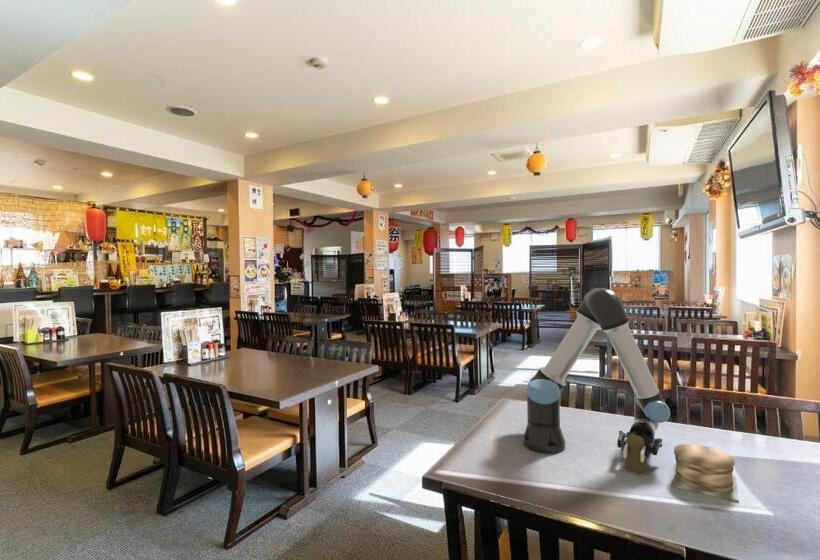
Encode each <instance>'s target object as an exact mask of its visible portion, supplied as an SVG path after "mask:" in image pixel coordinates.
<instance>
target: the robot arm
mask: <svg viewBox="0 0 820 560" xmlns="http://www.w3.org/2000/svg"><path fill="white" fill-rule="evenodd" d="M575 312H576V319H575V321H574V322H573V323H572V325H571V327H570V328H569V330H568V331H567V332H566V334H565V336H564V338H562V341H561V342H560V343H559V345H558V347H557V348H556V349H555V351H554V353H553V354H552V356H551V357H550V359H549V360H548V361H547V363H546V365H545V366H542V367H539V368H538V370H537V372H536V373H535V375H533V376H532V378H530V379H529V381H528V383H527V385H526V387H527V388H526V395H527V396H526V405H527V413H526V414H527V415H526V417H527V423H526V426H525V430H524V433H523V436H522V443H524V444H523V446H524V445H525V446H524V447H526V448H527V447H528V448H527V449H529V450H531V451H535V452H538V453H543V454H555V453H556V454H557V453H561V452H563V451H564V450H565V449H566V440H565V437H564V434H563V431H562V428H561V413H560V412H561V411H560V410H561V409H560V407H561V406H560V402H561V401H560V396H561V393H562V391H563V389H564V388H565V387H566V377H567V376H568V374H569V373H570V371H571V370H572V369H573V367H574V366H575V363H577V362H578V359H579V358H580V356H581V355H582V354H583V352H584V350H585V349H586V347H587V346H588V344H589V343H590V341H591V340H592V338H594V337H593V336H594V335H595V334H596V332H597V331H598V330H599V329H601V331H602V332H604V333H606V335H607V337H608V339H609V342H610V343H611V345H612V348H613V349H614V351H615V354H616V355H617V358H618V360H619V362H620V364H621V366H622V369H623V370H624V373H625V375H626V377H627V379H628V381H629V383H630V385H631V388H632V390H633V399H634V400H633V401H634V402H633V404H634V406H633V407H634V408H633V409H634V410H633V411H634V412H633V415H634V420H633V423H632V424H631V427H630V429H629V431H627V433H625V432H623V431H622V430H618V438H617V443H616V445H617V448H618V449H620V451H621V452H623V456H622V457H623V459H627V455H628V444H627V441H626V439H627V437H628V436H629V435H638V436H641V437H642V438H643V439H644V442H645V444H644V447H643V448H642V450H641V453H640V454H641V462H644V459H645V458H646V457H647V458H649V457H650V455H651V454H652V455H653V456H657V455H658V453H659V449H660V448H662V447H663V439H662V438H659V437H658V438H655V434H656V433H657V429H658V428H659V424H662V423H665V422H667V421H668V420H669V419H670V417H671V410H670V409H671V408H669V406H668V404H667V403H666V402H665V400H664V399H663V397H662V394H661V392H660V389H659V388H658V386H657V384H656V381H655V379H654V377H653V375H652V373H651V371H650V369H649V367H648V364H647V362H646V361H645V358H644V356H643V354H642V352H641V350H640V348H639V346H638V345H639V344H638V343H637V341H636V339H635V337H634V335H633V333H632V331H631V329H630V327H629V323H630V322H631V321H630V319H629V317H628V315H627V312H626V310H625V307H624V304H623V302H622V300H621V298H620V297H619V295H618V294H617V293H616V292H615V291H613V290H611V289H607V288H605V287H596V288H592V289H590V290H589V291H587V292H586V293H585V294H584V295H583V298H582V302H581V303H580V305H579V307H578V308H577V310H576V311H575ZM651 444H652V447H651ZM645 460H646V459H645Z"/></svg>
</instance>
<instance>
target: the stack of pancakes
mask: <svg viewBox="0 0 820 560" xmlns="http://www.w3.org/2000/svg"><path fill="white" fill-rule="evenodd" d="M673 453H674V459H675V463H674V464H673V468H672V474H671V481H670V487H673V488H678V489H682V490H686V491H691V492H695V493H698V494H702V495H707V496H710V497H715V498H719V499H722V500H727V501H731V500H732V502H735V503H739V502H740V501H739V500H740V499H739V494H738V493H739V492H738V485H737V478H736V476H733V471H734V466H735V459H734V457H733V456H732V455H730V454H729V453H727V452H725V451H724V450H723V451H722V450H720V449H717V448H714V447H711V446H706V445H700V444H692V443H691V444H690V443H685V444H684V443H683V444H678V445H676V446H674V448H673Z"/></svg>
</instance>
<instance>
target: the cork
mask: <svg viewBox="0 0 820 560" xmlns="http://www.w3.org/2000/svg"><path fill="white" fill-rule="evenodd" d="M625 440H626V441H627V444H628V455H627V457H626V461H625V470H626V471H627V472H629V473H632V474H635V475H637V474H638V475H644V474H646V473H647V467H646V459H644V462H641V454H640V453H641V450H642V448H643V447H644V444H645V442H644V439H643V438H642V437H641V436H638V435H629V436H628V437H626V438H625Z"/></svg>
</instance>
